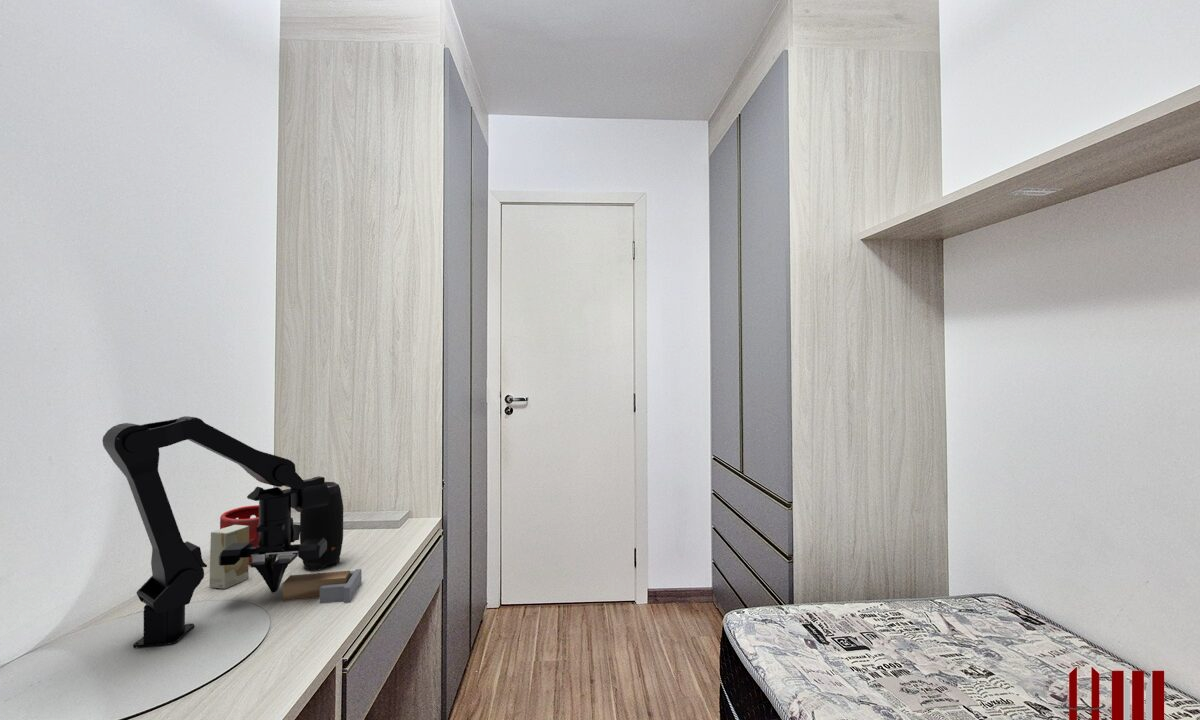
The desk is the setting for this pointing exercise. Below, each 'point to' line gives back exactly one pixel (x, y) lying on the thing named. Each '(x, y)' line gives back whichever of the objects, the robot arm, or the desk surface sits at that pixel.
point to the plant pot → (243, 521)
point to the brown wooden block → (311, 584)
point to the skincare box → (227, 573)
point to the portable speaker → (324, 528)
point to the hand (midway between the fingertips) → (274, 591)
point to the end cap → (341, 589)
